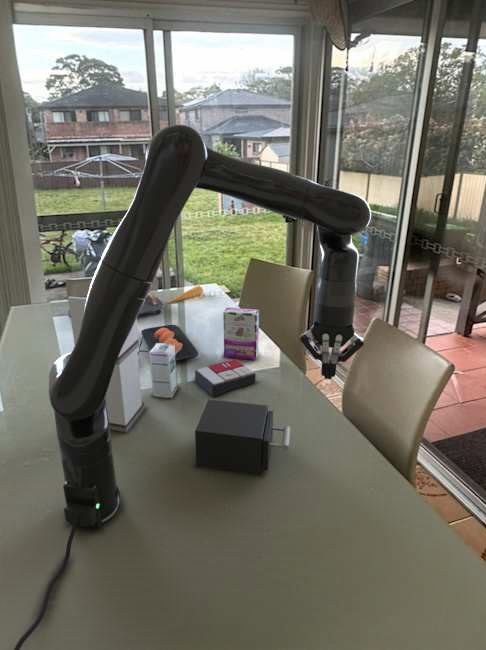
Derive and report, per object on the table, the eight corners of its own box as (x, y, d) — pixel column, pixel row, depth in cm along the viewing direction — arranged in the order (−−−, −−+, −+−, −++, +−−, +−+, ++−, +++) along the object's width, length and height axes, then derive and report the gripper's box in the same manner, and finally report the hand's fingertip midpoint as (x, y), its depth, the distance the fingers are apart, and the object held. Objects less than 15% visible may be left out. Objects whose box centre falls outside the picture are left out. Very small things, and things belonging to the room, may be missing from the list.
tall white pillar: (144, 408, 120) (133, 287, 107) (126, 432, 111) (112, 301, 98) (107, 402, 123) (92, 283, 110) (86, 425, 114) (67, 297, 101)
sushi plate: (201, 360, 146) (200, 350, 145) (109, 377, 136) (108, 367, 134) (176, 328, 171) (176, 319, 170) (97, 340, 161) (96, 331, 160)
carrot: (200, 294, 210) (197, 285, 210) (205, 293, 206) (202, 284, 206) (165, 308, 199) (162, 298, 198) (170, 307, 195) (167, 297, 195)
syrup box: (172, 398, 125) (169, 352, 119) (152, 396, 126) (148, 351, 121) (177, 388, 130) (175, 343, 125) (158, 386, 131) (155, 342, 126)
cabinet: (267, 438, 108) (268, 405, 104) (260, 475, 96) (261, 438, 93) (208, 432, 110) (208, 399, 107) (196, 466, 99) (194, 430, 95)
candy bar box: (258, 353, 150) (259, 309, 144) (256, 360, 146) (257, 314, 140) (226, 350, 153) (226, 306, 147) (223, 357, 148) (223, 311, 142)
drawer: (290, 440, 106) (291, 412, 103) (287, 473, 95) (288, 443, 92) (217, 431, 109) (217, 404, 106) (207, 462, 99) (206, 433, 96)
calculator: (256, 371, 131) (213, 383, 123) (255, 384, 133) (213, 397, 125) (236, 357, 140) (194, 367, 132) (235, 369, 141) (194, 380, 134)
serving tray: (151, 297, 204) (150, 285, 202) (169, 313, 185) (169, 299, 183) (64, 313, 187) (62, 299, 185) (75, 332, 168) (73, 317, 166)
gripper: (299, 303, 83) (294, 383, 89) (373, 307, 80) (362, 389, 87) (301, 290, 90) (296, 365, 96) (368, 294, 87) (359, 371, 94)
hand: (327, 377), depth 91 cm, fingers closed
